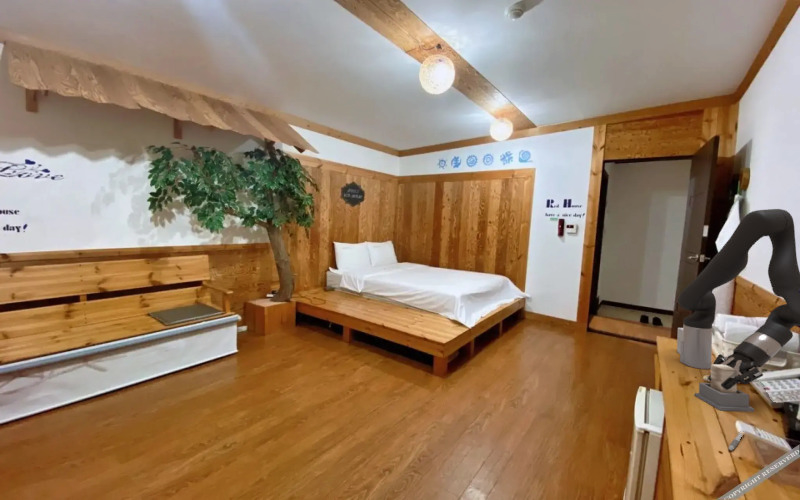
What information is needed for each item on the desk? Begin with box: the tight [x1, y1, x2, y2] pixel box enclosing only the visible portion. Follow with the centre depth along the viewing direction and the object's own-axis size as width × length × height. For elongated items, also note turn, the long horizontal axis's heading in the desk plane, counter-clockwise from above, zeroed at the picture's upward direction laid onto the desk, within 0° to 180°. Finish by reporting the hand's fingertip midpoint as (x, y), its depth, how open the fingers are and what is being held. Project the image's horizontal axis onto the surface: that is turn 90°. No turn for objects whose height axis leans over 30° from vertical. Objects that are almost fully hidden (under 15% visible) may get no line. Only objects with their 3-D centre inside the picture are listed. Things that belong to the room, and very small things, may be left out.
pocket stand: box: [694, 382, 755, 413], centre depth 109 cm, size 10×10×5 cm
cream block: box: [710, 363, 738, 393], centre depth 109 cm, size 4×4×10 cm
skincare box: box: [676, 327, 683, 355], centre depth 155 cm, size 6×4×12 cm
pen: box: [728, 432, 743, 451], centre depth 88 cm, size 1×14×1 cm, turn 124°
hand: (717, 384), depth 109 cm, fingers closed on cream block, 4 cm apart
